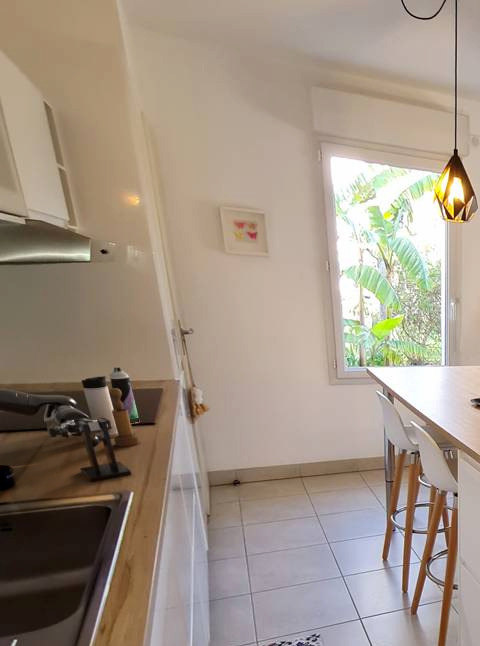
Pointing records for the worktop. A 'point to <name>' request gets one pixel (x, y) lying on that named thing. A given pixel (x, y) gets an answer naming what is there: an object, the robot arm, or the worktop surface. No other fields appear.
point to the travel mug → (99, 402)
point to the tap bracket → (95, 470)
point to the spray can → (124, 391)
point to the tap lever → (93, 432)
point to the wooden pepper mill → (122, 422)
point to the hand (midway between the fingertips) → (85, 431)
